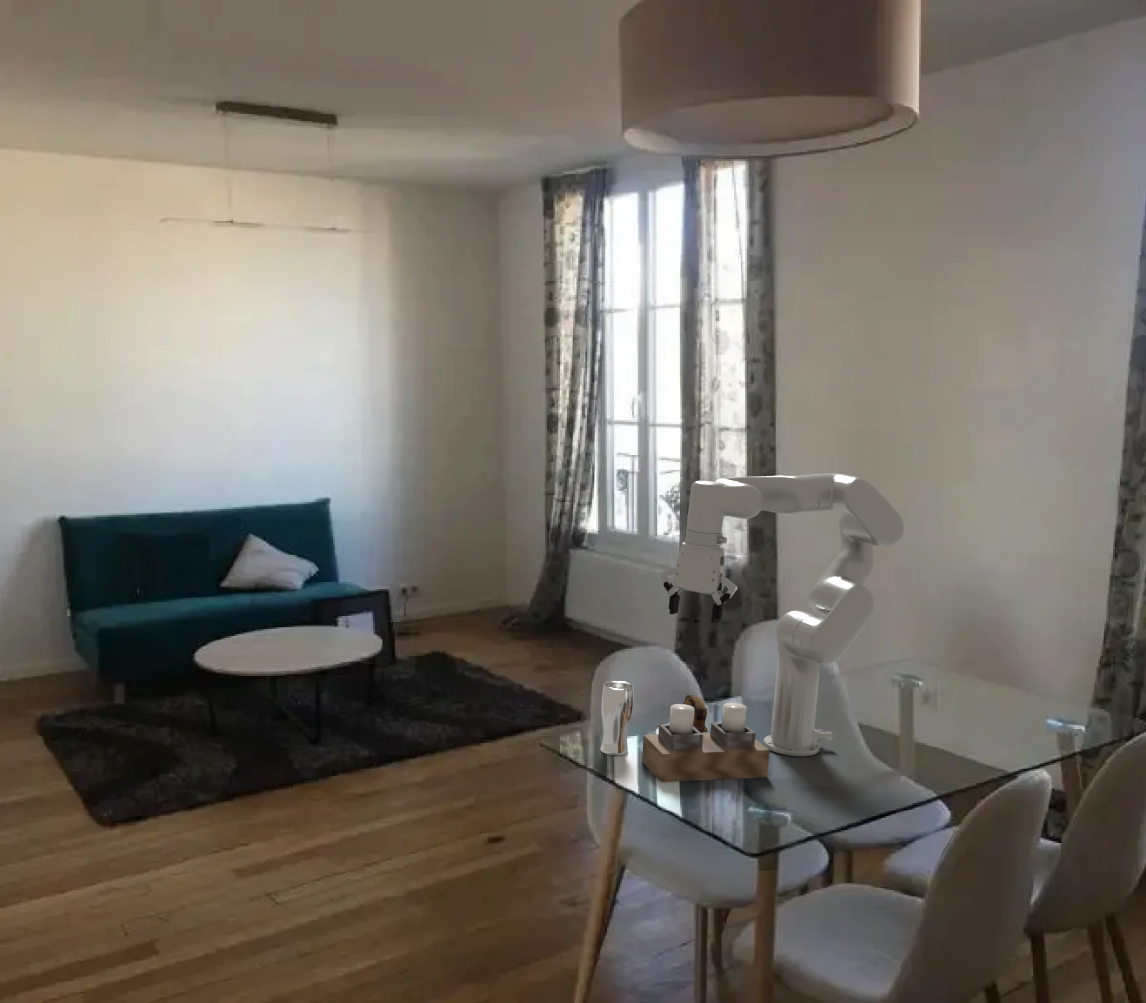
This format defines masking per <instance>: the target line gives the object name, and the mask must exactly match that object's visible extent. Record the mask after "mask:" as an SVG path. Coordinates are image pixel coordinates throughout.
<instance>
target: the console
mask: <svg viewBox="0 0 1146 1003" xmlns="http://www.w3.org/2000/svg"><path fill="white" fill-rule="evenodd" d="M721 726H722V722H710V731H709V732H704V733H701V732H699V731H698V730H697V729H696V728H695V727H694V726H693V732H692V733H691V734H676V733H672V732H670V731H669V724H667V723H666V724H658V732H657V734H656V733H655V734H643V738H642V740H643V742H642V754H641V762H642V764H643V765H644V764H645V765H646V766H647V767H646V766H645V765H644V766H645V767H646V768H647V769H648V770H649V771H650V772H651V773H652V774H653V775H654V776H655V778H656V779H657V780H658V781H659V782H660V783H670V782H671V783H672V782H675V783H676V782H692V781H693V782H695V781H696V780H697V781H714V779H715V780H717V779H719V780H734V779H738V780H739V779H759V778H761V779H762V778H768V773H769V764H770V763H769V762H770V751H771V750H769V749H768V748H767V747H765V746H764V744H763V743H762V742H760V741H759V740H758V739H756V731H754V730H752V728H750V727H749V726H748V725H746V724H745V731H744V732H728V731H725V730H723V729H722V728H721Z"/></svg>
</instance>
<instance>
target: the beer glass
mask: <svg viewBox="0 0 1146 1003" xmlns="http://www.w3.org/2000/svg"><path fill="white" fill-rule="evenodd" d="M600 707H601V708H600V709H601V720H602V722H601V723H602V733H603V734H602V741H601V744H600V745H601V746H600V752H601V753H602V754H604V753H605V754H604V755H607V754H608V756H612V755H617V756H616V757H619V756H618V755H622V756H625V755H627V754H628V753H629V747H628V732H629V728H630V724H631V719H632V715H633V710H634V685H633V684H632V683H629V682H626V681H620V680H619V681H617V680H613V681H605V682H604V683H603V689H602V697H601V705H600ZM624 754H625V755H624Z"/></svg>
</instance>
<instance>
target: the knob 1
mask: <svg viewBox="0 0 1146 1003" xmlns="http://www.w3.org/2000/svg"><path fill="white" fill-rule="evenodd" d="M669 714H670V715H669V731H670V732H672V733H676V734H691V733H692V732H693V721H694V707H692V706H690V705H685V704H683V703H676V704H672V705H670V713H669Z"/></svg>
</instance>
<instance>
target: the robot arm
mask: <svg viewBox="0 0 1146 1003" xmlns="http://www.w3.org/2000/svg"><path fill="white" fill-rule="evenodd" d="M689 492H690V494H689V501H688V502H689V503H688V510H687V512H688V513H687V521H686V529H685V539H684V542H682V543H681V544H680V549H679V552H678V556H677V559H676V562H675V563H676V565H675V567H674V568H672V569H668V570H667V571H664V572H661V573H660V578H661V581H662V583H663V584H662V585H663V587H664V589H665V591H667V594H668V596H669V599H668V600H669V601H668V610H669V614H670V615H675V614H677V613H679V609H680V608H679V606H680V599H681V597H680V594H679V593H680V592H681V591H682V590H684V591H689V592H695V593H700V594H706V595H710V596H711V598H712V599H713V600H714V604H712V612H711V623H713V624H716V623H718V622H720V620H721V619H722V617H723V608H724V604H725V603H726V602H728V601H729V600H730V599H731V598H732V597H733V595H734V594H735V593H736V591H737V590H738V585H736V584H735V583H734V582H733V581H731V580H730V579H729V578H727V577H726V575H725V573H726V571H725V570H726V566H725V565H726V559H725V548H724V547H721V546H722V545H723V544H724V545H725V544H727V543H728V538H727V537H726V536H723V533H722V532H723V525H724V517H730V518H736V519H741V520H747V519H752V518H755V517H756V516H758V515H759V513H761V511H765V512H771V513H776V514H782V515H800V514H802V515H803V514H811V513H812V514H813V513H824V512H837V513H838V512H839V513H840V515H839V520H838V526H839V534H840V546H839V550H838V553H837V555H835V556H836V557H835V558H834V560H833V561H832V562H831V564H830V565H829V566H828V567H827V568H826V570H825V571H824V572H823V574H822V575H821V576H820V578H819V579H818V580H817V581H816V583H815V584H814V585H813V587H812V588H811V589H810V592H809V594H808V604H809V606H810V608H811V609H812V610H813V611H814V612H816V613H817V614H820V616H824V618H823V617H820V616H818V615H815V614H812V613H809V612H807V611H803V610H790V611H788V612H785V614H783V615H782V616H781V617H780V619H778V621H777V624H776V628H775V643H776V654H777V655H776V658H777V659H776V661H777V662H776V676H775V685H774V695H773V696H774V697H773V698H774V699H773V709H772V721H771V732H770V734H769V735H767V736H765V737H764V738H763V742H762V744H763V745H764V746H765V747H767V748H768V749H769V750H770V751H772V752H774V753H777V754H780V755H785V756H791V757H808V756H813V755H816V754H819V752H820V745H819V743H820V742H821V741H832V740H833V739H834V733H833V732H832V731H823V729H816V728H815V722H816V714H817V712H816V711H817V702H818V701H817V700H818V692H819V683H820V682H819V680H820V670H819V669H820V667H819V664H821V665H830V664H832V663H835V662H836V661H838V660H839V659H840V658H841V657H842V656H843V655H844V654H845V653H846V652H847V651H848V649H849V648H850V646H852V644H853V642H854V641H855V640H856V639H857V637H858V636H859V635H860V634H861V632H862V631H863V630H864V628H866V626H867V625H868V623H869V621H870V619H871V617H872V615H873V613H874V610H875V608H874V607H875V599H874V595H873V593H872V592H871V590H870V589H869V588H868V587H867V586H866V585H864V584H865V583H866V581H867V580H868V578H869V577H870V575H871V574H872V572H873V568H874V559H875V558H874V547H873V546H876V547H878V548H879V547H881V548H890V547H893V546H895V545H896V544H898V543H899V542H900V540H902V537H903V534H904V532H905V531H904V530H905V525H904V521H903V518H902V516H901V515H900V514H899V512H898V511H897V510H896V508H894V506H892V504H891V503H890V502H889V501H888V500H887V499H886V498H885V497H884V496H883V494H881V492H879V490H878V489H877V488H876V487H875V486H874V485H873V484H872V483H870V482H869V481H868V480H866V479H865V478H863V477H859V476H854V475H850V474H844V473H838V472H837V473H836V472H830V473H815V474H803V475H801V474H799V475H773V476H771V475H770V476H739V477H738V476H736V477H735V476H734V477H723V478H719V479H717V480H714V481H711V480H697V481H694V482H693V483H692V484H691V488H690V491H689ZM672 576H673V583H672V582H671V579H670V577H672ZM673 584H674V585H673ZM724 587H725V588H727V591H726V592H725V593H724V594H723V593H722V592H723V591H724Z"/></svg>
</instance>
